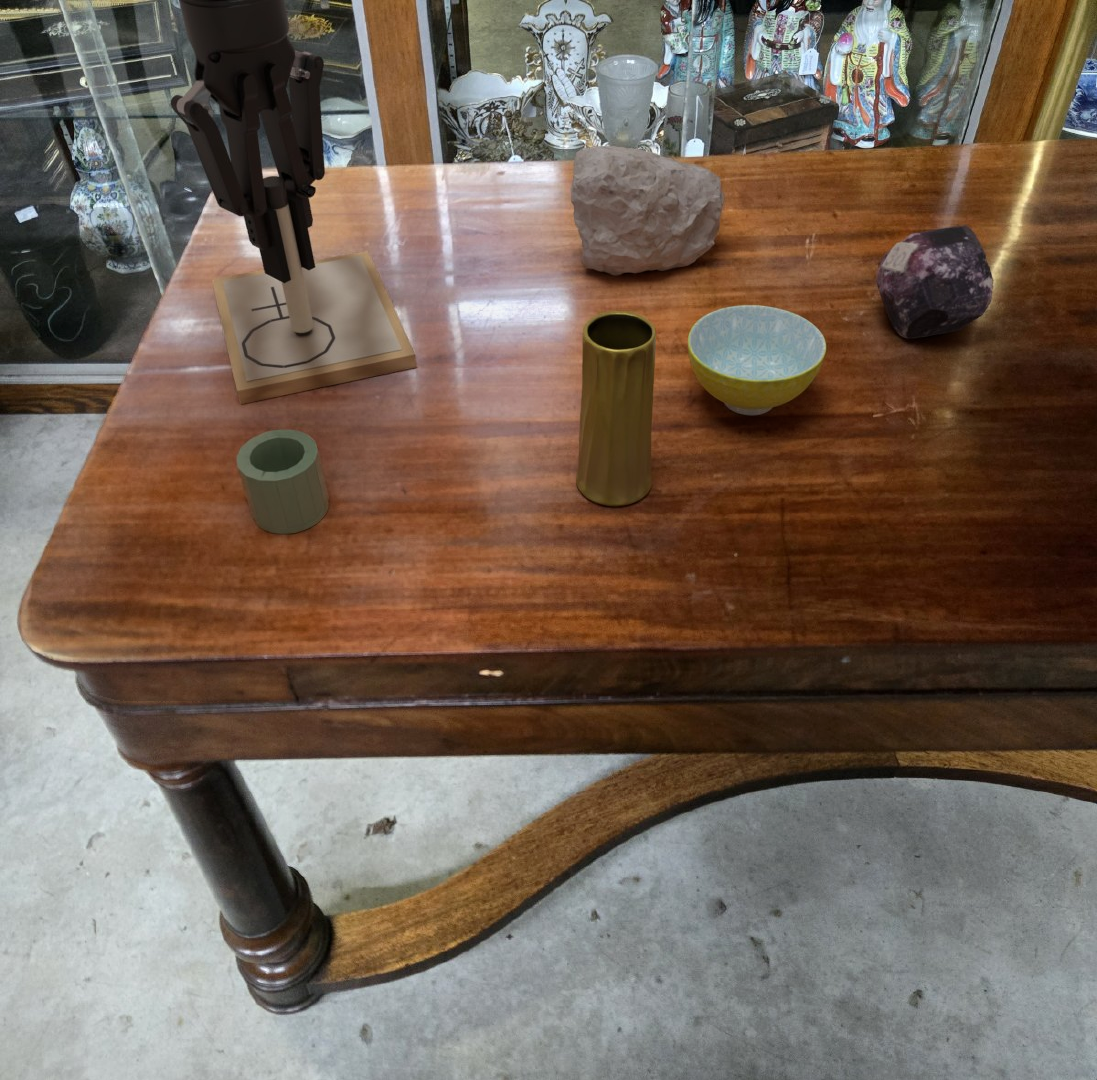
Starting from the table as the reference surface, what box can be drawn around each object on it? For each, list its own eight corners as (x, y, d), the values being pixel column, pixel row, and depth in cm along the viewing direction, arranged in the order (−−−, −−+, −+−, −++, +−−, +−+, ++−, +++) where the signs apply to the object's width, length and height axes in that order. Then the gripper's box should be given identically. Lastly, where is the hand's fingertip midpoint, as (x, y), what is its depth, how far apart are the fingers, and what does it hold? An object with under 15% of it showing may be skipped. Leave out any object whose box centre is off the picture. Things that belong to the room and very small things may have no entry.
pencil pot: (258, 542, 79) (241, 488, 75) (247, 492, 83) (231, 439, 79) (335, 523, 80) (324, 469, 77) (321, 475, 84) (309, 422, 81)
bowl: (661, 378, 93) (665, 318, 89) (775, 352, 96) (784, 293, 92) (717, 453, 86) (724, 392, 81) (839, 423, 88) (853, 362, 84)
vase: (603, 448, 86) (607, 298, 76) (666, 475, 84) (679, 324, 74) (561, 488, 83) (559, 336, 73) (625, 518, 80) (632, 365, 70)
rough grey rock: (714, 209, 112) (682, 77, 101) (752, 249, 105) (721, 113, 94) (579, 275, 112) (533, 151, 101) (608, 319, 105) (562, 192, 95)
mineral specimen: (875, 265, 103) (939, 185, 95) (960, 329, 102) (1031, 253, 94) (840, 309, 97) (905, 227, 89) (930, 377, 96) (1003, 300, 88)
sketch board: (240, 404, 91) (236, 389, 90) (215, 292, 105) (211, 277, 104) (417, 367, 95) (415, 352, 94) (370, 263, 109) (368, 248, 107)
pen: (294, 339, 96) (260, 188, 85) (290, 327, 97) (256, 177, 87) (316, 334, 96) (285, 184, 86) (312, 322, 98) (282, 173, 87)
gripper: (170, 21, 70) (247, 321, 86) (341, -35, 78) (381, 250, 94) (108, -2, 73) (194, 291, 90) (277, -53, 81) (327, 225, 98)
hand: (290, 269), depth 92 cm, fingers closed on pen, 2 cm apart
